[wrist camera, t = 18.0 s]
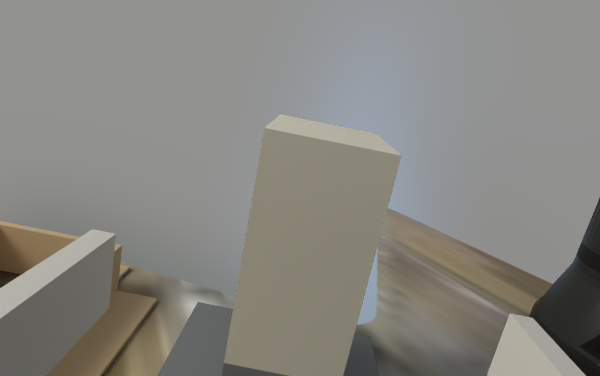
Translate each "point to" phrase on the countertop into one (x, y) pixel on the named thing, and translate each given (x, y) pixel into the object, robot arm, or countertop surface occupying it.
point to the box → (308, 248)
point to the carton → (111, 325)
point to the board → (213, 341)
